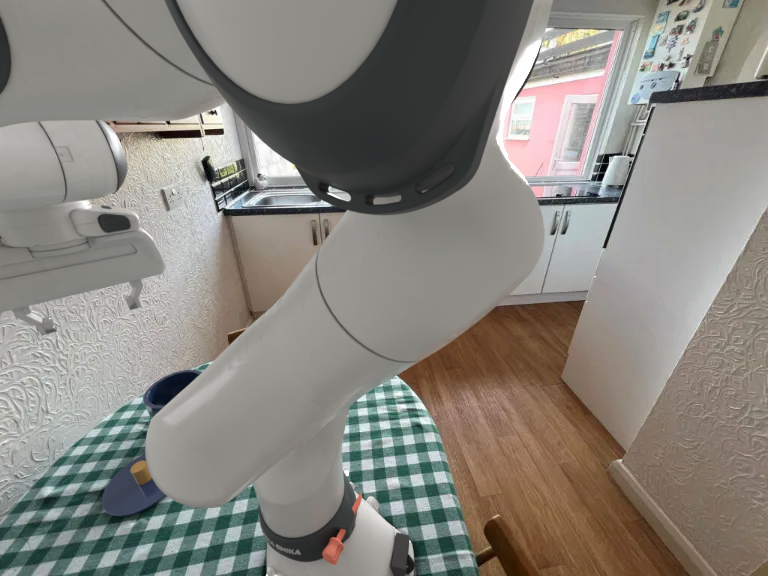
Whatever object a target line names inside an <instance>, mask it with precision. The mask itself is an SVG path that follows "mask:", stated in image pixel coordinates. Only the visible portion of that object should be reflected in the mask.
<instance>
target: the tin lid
mask: <svg viewBox="0 0 768 576" xmlns="http://www.w3.org/2000/svg"><path fill="white" fill-rule="evenodd" d="M166 497H167V496H166V495H165V494H164V493H163V492H162V491H161V490H160V489H159V488H158V487H157V485H156V484H155V482H154V481H153V479H152V477H151V475H150V472H149V470H148V467H147V462H146V457H145V453H144V454H141V455H140V456H138V457H136V458H135V459H133V460H131V461H130V462H128V463H127V464H126V465H124V466H123V467H122V468H121V469H119V471H118V472H116V474H114V476H112V478H111V479H110V480H109V482H108V483H107V485H106V487H105V489H104V490H103V493H102V495H101V507H102V510H103V511H104V512H105V513H106V514H107V515H109V516H111V517H113V518H127V517H132V516H135V515H138V514H140V513H142V512H144V511H145V512H146V511H147V510H149V509H150V508H152V507H153V506H155V505H157V504H158V503H160V502H161V501H162V500H164V499H165V498H166Z"/></svg>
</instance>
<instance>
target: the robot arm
mask: <svg viewBox="0 0 768 576" xmlns="http://www.w3.org/2000/svg"><path fill="white" fill-rule="evenodd" d="M553 3H554V0H0V314H1V313H5V312H10V311H12V313H13V315H14V316H15V318H17V319H19V320H21V321H23V322H25V323H27V324H29V325H32V326H35V327H36V329H37V330H38V332H39V334H40V336H46V335H50V334H53V333H56V332H58V328H57V325H56V323H55V322H54V320H53V318H52V316H51V315H50V316H47V317H41V316H39V315H37V314H35V313H34V312H32V311H33V306H34V305H39V304H43V303H48V302H51V301H55V300H60V299H64V298H68V297H72V296H76V295H80V294H85V293H88V292H92V291H93V292H94V291H97V290H101V289H105V288H110V287H114V286H118V285H122V284H126V283H128V284H129V285H130V287H131V288H132V289H131V291H130V295H127V296H124V300H125V303H126V305H127V307H128V309H129V311H133V310H137V309H141V308H142V304H141V301H140V299H139V298H140V296H141V292H142V290H143V287H144V284H143V281H142V280H143V279H147V278H151V277H155V276H159V275H160V276H161V275H162V274H164V273H165V270H166V268H167V264H166V260H165V259H164V256H163V254H162V252H161V249H159V246H158V245H157V242H156V241H155V239H154V238H153V237H152V235H150V233H148V232H147V231H146V230H145V229H143V228H142V227H141V225H142V223H141V220H140V217H139V216H138V214H137V213H136V212H135V211H134V210H132V209H129V208H126V207H119V206H111V205H104V204H95V203H91V202H90V200H96V199H101V198H104V197H107V196H110V195H115V194H117V192H118V191H119V190H121V188H122V187H123V184H124V183H125V181H126V178H127V174H128V170H129V168H128V162H127V157H126V153H125V150H124V149H123V146H122V143H121V141H120V139H119V136H118V134H116V132H115V131H114V129H113V128H111V126H110V125H108V124H107V123H106V122H171V121H172V122H173V121H180V120H186V119H189V118H192V117H195V116H198V115H201V114H204V113H207V112H209V111H211V110H213V109H214V110H215V109H216V108H219V107H221V106H222V105H225V104H226V103H227V104H228V106H229V107H230V108H231V110H232V111H233V112H234V113H235V115H236V116H238V118H239V119H240V120H241V121H242V122H243V124H245V125H246V127H247V128H248V129H249V130H250V131H251V132H252V133H253V135H255V136H256V137H257V138H258V139H259V140H260V141H261V142H262V143H264V144H265V145H266V146H267V147H269V148H270V149H271V150H272V151H274V152H275V153H276V154H277V155H279V156H280V157H281V158H283V159H284V160H285V161H287V162H289V163H291V164H292V165H293V166H294V167H295V168H296V170H297V172H298V174H299V175H300V177H301V179H302V180H303V182H304V184H305V186H306V187H307V188H308V190H309V191H310V192H311V193H312V194H313V195H314V196H315V197H316V198H318V199H320V200H321V201H322V202H325V203H327V204H329V205H331V206H333V207H336V208H338V209H342V210H346V211H345V212H344V214H343V215H342V217H341V219H340V220H339V221H338V223H337V224H336V225H335V226H334V228H333V229H332V230H331V232H330V233H329V234H328V235H327V236H326V238H325V239H324V240H323V242H322V243H321V244H320V246H319V247H318V249H317V250H316V251H315V253H313V255H312V256H311V258H310V259H309V260H308V261H307V263H306V264H305V265H304V267H303V268H302V270H301V271H300V272H299V273H298V274H297V276H296V277H295V278H294V280H293V281H292V283H290V285H289V287H288V288H287V289H286V290H285V292H284V293H283V294H282V295H281V296H280V297H279V298H278V300H277V301H276V302H274V304H273V305H272V306H271V307H270V308H268V310H266V311H264V313H263V314H261V315H260V316H259V317H258V318H257V319H256V320H255V321H254V322H252V323H251V324H250V325H249V326H248V327H247V328H246V329H245V330H243V332H242V333H240V335H238V336H237V338H235V339H234V340H233V341H232V342H230V343H229V345H228V346H227V347H226V348H225V349H224V350H223V351H221V353H220V354H219V355H218V356H216V358H215V359H214V360H213V361H212V362H210V363H209V365H208V366H207V367H206V368H205V369H204V370H203V371H201V372H202V373H201V374H200V375H199V376H198V377H197V378H196V379H195V380H193V381H192V382H191V383H190V384H189V385H188V386H187V387H186V388H185V389H183V390H182V391H181V392H180V393H179V394H178V395H177V396H176V397H174V398H173V399H172V400H171V401H170V402H169V403H168V404H167V405H166V406H165V407H163V408H162V409H161V410H160V411H159V412H158V413H157V414H156V415H155V416H154V417H153V418H152V419H151V418H150V422H149V424H148V428H147V432H146V436H145V443H144V444H145V445H144V454H145V457H146V462H147V467H148V470H149V472H150V475H151V477H152V479H153V481H154V482H155V484H156V485H157V487H158V488H159V489H160V490H161V491H162V492H163V493H164V494H165V495H166V497H168V498H169V499H171V500H173V501H174V502H176V503H178V504H180V505H183V506H187V507H190V508H197V509H216V508H222V507H224V506H225V505H227V504H228V503H229V502H230V501H232V500H233V499H234V498H236V497H238V496H239V495H240V494H241V493H243V492H244V491H245V490H246V489H248V488H249V487H250V486H253V489H254V492H255V496H256V499H257V502H258V507H257V508H258V509H257V510H258V522H259V526H260V530H261V532H262V535H263V536H264V538H265V541H266V575H265V576H415V568H416V563H415V554H414V553H415V552H414V548H413V543H412V542H411V540H410V535H409V534H405V533H401V532H400V530H398V529H397V528H395V527H394V526H393V525H392V524H391V523H389V522H388V521H387V519H385V518H384V517H383V516H382V515H381V514H380V513H379V512H378V511H379V509H380V508H381V507H380V506H381V505H380V502H379V501H378V500H377V499H376V498H375V497H374V496H372V495H370V496H368V497H367V498H366V499H364V497H363V493H362V492H359V493H358V492H357V491H356V490H355V488H356V485H354V483H353V482H352V481H350V480H349V478H348V476H349V471H348V470H345V471H344V465H343V464H344V463H343V441H344V436H345V431H346V426H347V420H348V417H349V411H350V407H351V406H353V404H355V403H357V401H358V400H360V399H361V398H362V397H364V396H365V395H366V394H368V393H370V392H371V391H373V390H375V389H376V388H378V387H379V386H381V385H383V384H384V383H386V382H388V381H389V380H391V379H393V378H394V377H396V376H398V375H399V374H402V373H403V372H405V371H406V370H408V369H409V368H411V367H413V366H415V365H416V364H418V363H420V362H422V361H424V360H425V359H426V358H428V357H430V356H432V355H433V354H435V353H437V352H438V351H439V350H442V349H443V348H445V347H446V346H447V345H449V344H450V343H452V342H453V341H455V340H456V339H457V338H458V337H460V336H461V335H463V334H465V332H467V331H468V330H469V329H471V328H472V327H473V326H474V325H475V324H477V323H478V322H479V321H481V320H482V319H483V318H485V316H487V315H488V314H490V312H491V311H493V310H494V309H495V308H496V307H497V306H498V305H499V304H501V303H502V302H503V301H505V299H507V298H508V296H510V294H511V293H512V292H513V291H515V290H516V289H517V288H518V287H519V286H520V285H521V284H522V283H523V282H524V281H526V279H527V278H528V277H529V276H530V275H531V273H532V272H533V271H534V270H535V268H536V266H537V265H538V264H539V261H540V259H541V256H542V253H543V250H544V246H545V235H546V234H545V231H546V230H545V224H544V218H543V217H544V215H543V213H542V210H541V207H540V203H539V200H538V198H537V197H536V194H535V192H534V190H533V188H532V186H531V185H530V183H529V182H528V181H527V179H526V178H525V176H524V175H523V173H522V172H521V171H520V170H519V169H518V168H517V167H516V166H515V165H514V164H513V163H512V162H511V161H510V159H509V158H508V153H507V152H506V149H505V147H504V143H503V135H502V134H503V127H504V120H505V117H506V114H507V112H508V110H509V108H510V107H511V106H512V104H513V103H514V102H515V101H516V100H517V98H518V97H519V95H520V94H521V93H522V91H523V89H524V88H525V86H526V85H527V83H528V81H529V79H530V77H531V75H532V73H533V71H534V69H535V66H536V63H537V61H538V58H539V55H540V52H541V50H542V46H543V42H544V36H545V33H546V30H547V27H548V23H549V20H550V15H551V11H552V7H553ZM329 187H330V188H332V189H335V190H338V191H341V192H344V193H347V194H348V195H349V197H350V200H346V199H344V198H341V197H339V196H337V195H336V194H333V193H331V192H330V190H329Z"/></svg>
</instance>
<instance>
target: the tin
mask: <svg viewBox="0 0 768 576" xmlns="http://www.w3.org/2000/svg"><path fill="white" fill-rule="evenodd" d="M202 372H203V371H200V370H197V369H183V370H178V371H174V372H172V373H170V374H168V375H164V376H163V377H161V378H160V379H158V380H157V381H155V382H153V384H151V385H150V386H149V388H148V389H146V391H145V393H144V395H143V396H142V401H143V404H144V406H145V409H146V411H147V413H148V415H149V417H150V420H151V419H152V418H153V417H154V416H155V415H156V414H157V413H158V412H159V411H160V410H161V409H162V408H163V407H165V406H166V405H167V404H168V403H169V402H170V401H171V400H172V399H173V398H174V397H176V396H177V395H178V394H179V393H180V392H181V391H182V390H183V389H185V388H186V387H187V386H188V385H189V384H190V383H191V382H192V381H193V380H195V379H196V378H197V377H198V376H199V375H200V374H201V373H202Z"/></svg>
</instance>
